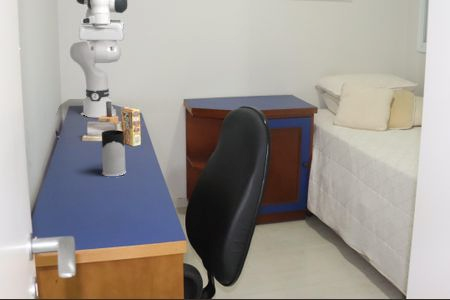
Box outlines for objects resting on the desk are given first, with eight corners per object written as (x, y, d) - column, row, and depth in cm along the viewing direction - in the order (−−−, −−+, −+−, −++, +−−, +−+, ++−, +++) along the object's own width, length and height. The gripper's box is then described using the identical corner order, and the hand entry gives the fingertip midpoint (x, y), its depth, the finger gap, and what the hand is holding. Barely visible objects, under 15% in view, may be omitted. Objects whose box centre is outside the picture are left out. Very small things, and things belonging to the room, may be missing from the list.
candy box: (141, 145, 229) (140, 109, 225) (133, 146, 226) (132, 110, 222) (129, 141, 235) (128, 106, 231) (121, 142, 232) (120, 107, 228)
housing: (99, 131, 244) (99, 118, 242) (110, 132, 244) (110, 119, 242) (97, 134, 240) (97, 121, 238) (109, 134, 240) (108, 121, 238)
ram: (101, 126, 255) (100, 101, 252) (118, 126, 255) (117, 101, 252) (99, 128, 249) (98, 103, 246) (116, 129, 249) (115, 103, 246)
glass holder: (102, 178, 184) (100, 136, 180) (100, 166, 197) (98, 127, 193) (128, 176, 186) (126, 134, 182) (124, 165, 199) (122, 125, 196)
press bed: (94, 128, 257) (93, 113, 255) (127, 129, 257) (127, 113, 255) (82, 140, 234) (81, 124, 232) (118, 141, 234) (118, 124, 232)
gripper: (124, 19, 248) (125, 50, 252) (80, 19, 248) (82, 49, 251) (122, 20, 242) (123, 51, 246) (76, 19, 242) (78, 50, 245)
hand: (102, 50), depth 248 cm, fingers open, 8 cm apart
